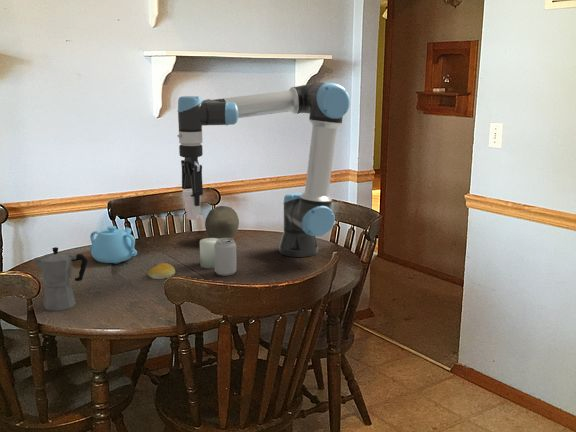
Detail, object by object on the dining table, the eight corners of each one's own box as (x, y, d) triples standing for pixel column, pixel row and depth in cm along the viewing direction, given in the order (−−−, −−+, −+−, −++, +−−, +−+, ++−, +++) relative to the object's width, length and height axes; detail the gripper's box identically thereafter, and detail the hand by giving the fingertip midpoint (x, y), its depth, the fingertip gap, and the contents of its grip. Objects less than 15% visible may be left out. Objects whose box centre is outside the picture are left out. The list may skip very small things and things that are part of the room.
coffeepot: (33, 312, 182) (27, 253, 178) (39, 301, 191) (34, 244, 186) (88, 309, 185) (84, 250, 180) (92, 298, 194) (88, 241, 189)
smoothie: (199, 221, 208) (198, 179, 204) (180, 220, 209) (179, 178, 205) (204, 216, 214) (203, 176, 211) (186, 215, 215) (185, 175, 212)
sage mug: (220, 259, 233) (220, 236, 231) (230, 265, 227) (230, 241, 225) (196, 263, 228) (195, 239, 226) (206, 269, 221) (205, 245, 219)
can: (233, 277, 214) (232, 243, 211) (211, 275, 215) (211, 242, 212) (239, 270, 221) (238, 237, 218) (218, 269, 222) (218, 236, 219)
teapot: (78, 263, 228) (75, 229, 225) (109, 248, 246) (107, 217, 243) (126, 268, 222) (124, 234, 219) (154, 253, 241) (152, 221, 238)
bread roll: (144, 278, 212) (143, 267, 211) (159, 270, 220) (158, 260, 220) (165, 281, 209) (164, 270, 208) (179, 273, 217) (179, 262, 217)
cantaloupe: (197, 243, 253) (196, 207, 250) (220, 236, 265) (219, 201, 261) (225, 249, 246) (224, 212, 242) (246, 241, 257) (246, 205, 254)
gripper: (170, 141, 212) (172, 208, 217) (189, 148, 195) (192, 220, 201) (191, 140, 215) (193, 206, 221) (212, 147, 199) (213, 217, 204)
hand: (192, 212), depth 211 cm, fingers closed on smoothie, 6 cm apart
